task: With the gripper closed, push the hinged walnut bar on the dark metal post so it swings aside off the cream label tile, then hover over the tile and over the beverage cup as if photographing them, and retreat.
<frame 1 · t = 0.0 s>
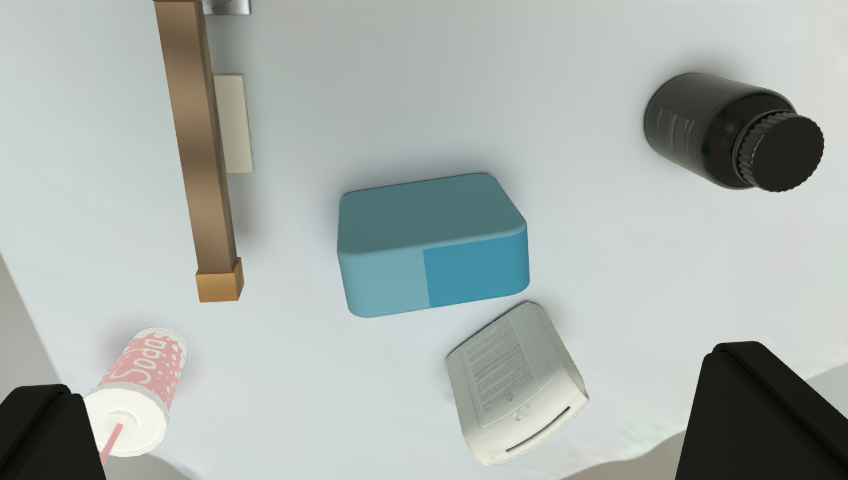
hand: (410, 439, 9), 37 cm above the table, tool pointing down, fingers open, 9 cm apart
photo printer: (495, 339, 53), on the table
label tile: (213, 124, 43), on the table
beverage cup: (159, 349, 50), on the table
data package: (418, 207, 47), on the table
swing bar: (199, 134, 35), point 8 cm above the table, hinge at 0.0°
supplement bottle: (682, 115, 47), on the table
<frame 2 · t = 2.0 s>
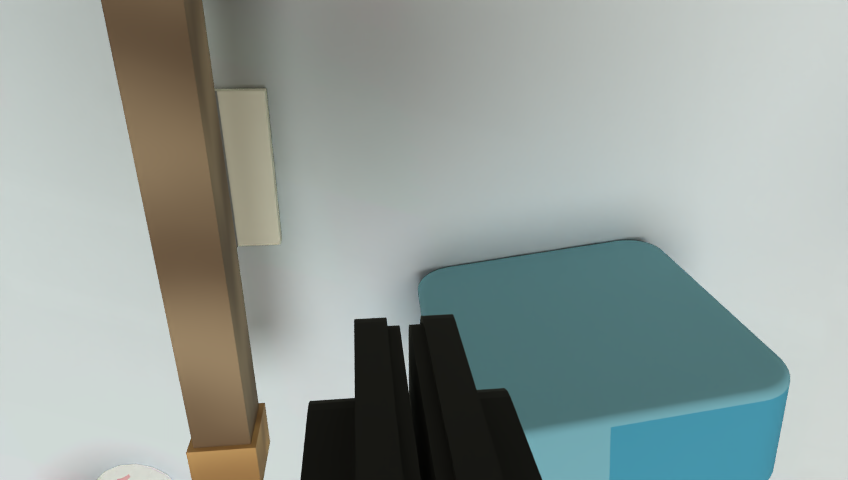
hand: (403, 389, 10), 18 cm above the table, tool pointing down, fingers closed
label tile: (216, 169, 26), on the table
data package: (532, 288, 31), on the table
swing bar: (190, 212, 18), point 8 cm above the table, hinge at 0.0°
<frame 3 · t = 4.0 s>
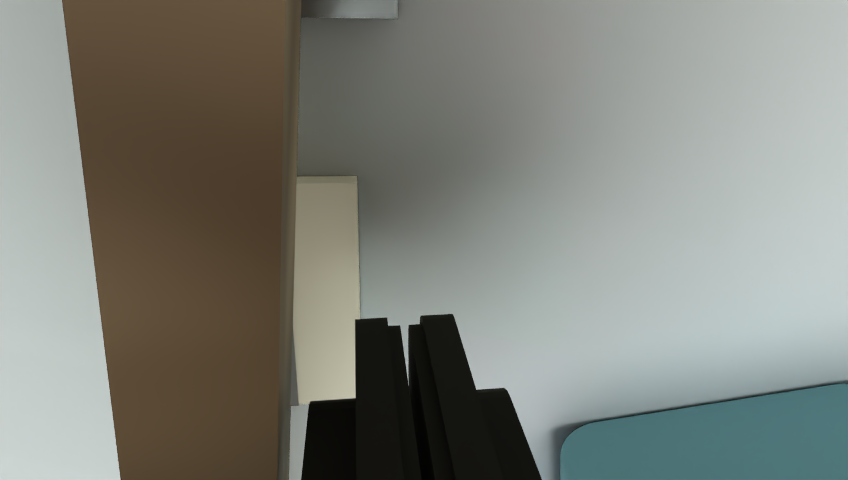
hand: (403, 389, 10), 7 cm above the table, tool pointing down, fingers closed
label tile: (271, 293, 17), on the table
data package: (705, 444, 22), on the table
swing bar: (218, 476, 9), point 8 cm above the table, hinge at 5.0°, touching gripper
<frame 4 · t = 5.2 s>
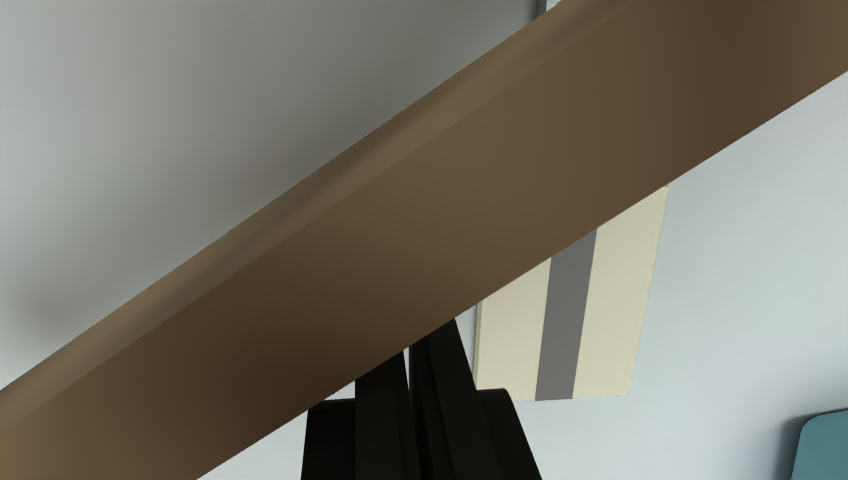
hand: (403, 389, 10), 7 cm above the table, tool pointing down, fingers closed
label tile: (559, 292, 18), on the table
swing bar: (337, 267, 8), point 8 cm above the table, hinge at 55.5°, touching gripper
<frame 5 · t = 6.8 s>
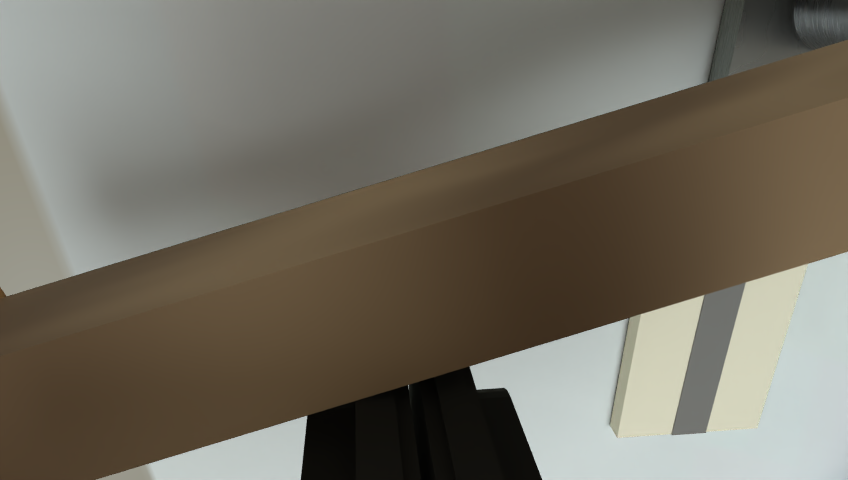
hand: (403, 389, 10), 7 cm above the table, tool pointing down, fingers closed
post: (816, 0, 15), on the table
label tile: (699, 334, 19), on the table
swing bar: (614, 210, 8), point 8 cm above the table, hinge at 73.3°, touching gripper
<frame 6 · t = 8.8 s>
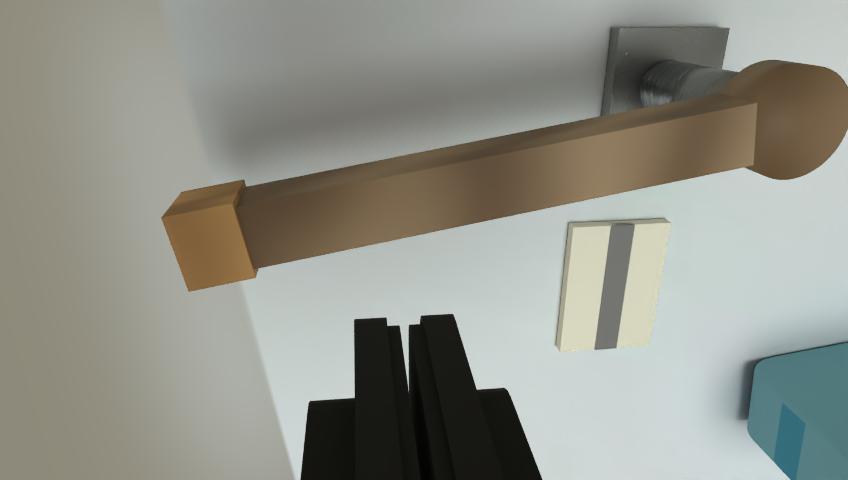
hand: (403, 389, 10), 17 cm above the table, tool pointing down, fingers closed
post: (656, 85, 27), on the table
label tile: (608, 284, 30), on the table
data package: (829, 372, 35), on the table
swing bar: (518, 172, 19), point 8 cm above the table, hinge at 80.3°
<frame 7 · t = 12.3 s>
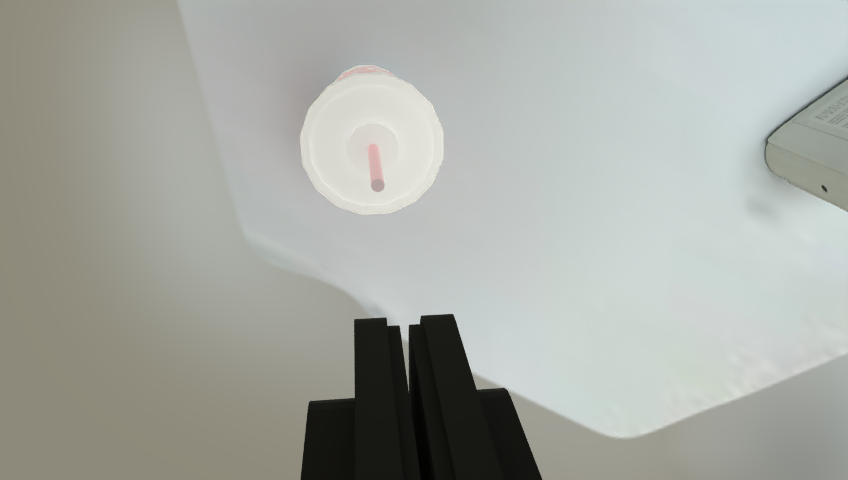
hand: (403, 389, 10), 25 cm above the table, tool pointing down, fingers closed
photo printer: (835, 114, 37), on the table
beverage cup: (367, 106, 33), on the table
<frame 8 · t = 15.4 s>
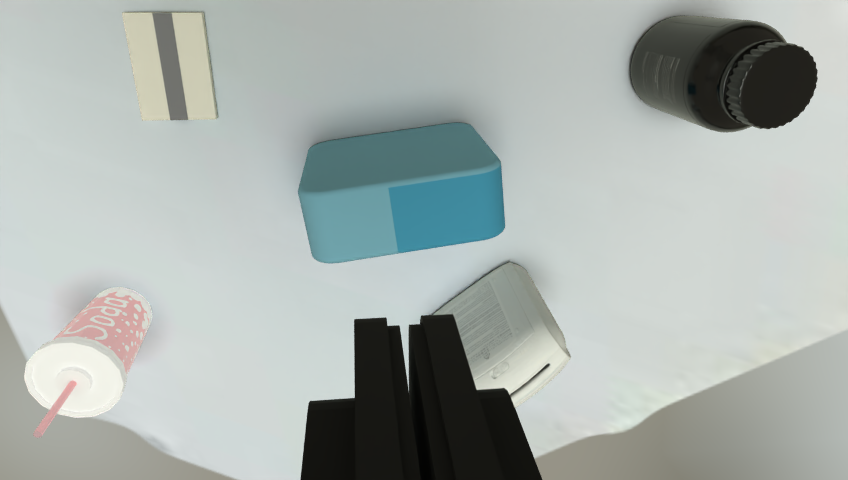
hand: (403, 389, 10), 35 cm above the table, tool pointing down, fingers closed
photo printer: (476, 303, 51), on the table
label tile: (173, 67, 40), on the table
beverage cup: (123, 310, 47), on the table
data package: (393, 159, 45), on the table
supplement bottle: (670, 62, 44), on the table
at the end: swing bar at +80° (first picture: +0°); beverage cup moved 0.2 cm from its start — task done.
